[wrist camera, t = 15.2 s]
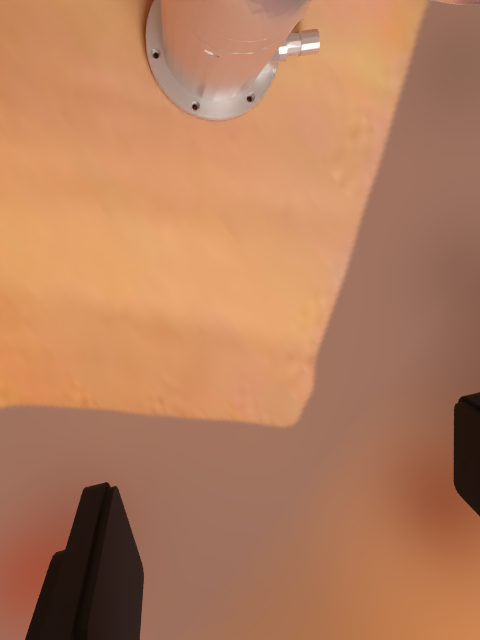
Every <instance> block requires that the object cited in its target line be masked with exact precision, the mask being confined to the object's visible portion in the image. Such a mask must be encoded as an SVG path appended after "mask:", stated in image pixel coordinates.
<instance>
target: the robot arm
mask: <svg viewBox="0 0 480 640" xmlns="http://www.w3.org/2000/svg"><path fill="white" fill-rule="evenodd" d="M428 1H430V0H428ZM432 1H438V2H444V3H451V4H462V5H475V4H480V0H432ZM310 2H311V0H154V1H153V3H152V5H151V7H150V11H149V14H148V18H147V23H146V34H145V39H146V51H147V56H148V61H149V64H150V67H151V70H152V73H153V76H154V78H155V80H156V81H157V83H158V85H159V87H160V89H161V90H162V91H163V93H164V94H165V95H166V96H167V98H168V99H169V100H170V101H171V102H172V103H173V104H175V105H176V106H177V107H178V108H179V109H181V110H183V111H184V112H186V113H187V114H189V115H191V116H194V117H197V118H199V119H203V120H209V121H225V120H229V119H232V118H236V117H238V116H240V115H242V114H244V113H246V112H247V111H249V110H250V109H251V108H252V107H254V106H255V105H256V104H257V103H258V102H259V101H260V100H261V99H262V98H263V96H264V95H265V93H266V92H267V90H268V89H269V87H270V85H271V83H272V81H273V79H274V76H275V73H276V69H277V65H278V62H284V61H285V60H286V56H293V55H298V56H303V55H310V54H316V53H317V52H318V50H319V45H320V36H319V32H318V30H317V29H312V30H305V31H298V32H297V33H292V34H290V32H291V31H292V30H293V28H294V27H295V25H296V24H297V22H298V21H300V20H302V18H303V14H304V13H305V11H306V9H307V7H308V6H309V4H310ZM155 53H156V54H158V55H159V57H158V58H157V59H156V58H154V57H153V55H154V54H155ZM247 97H250V98H251V102H248V101H247ZM193 105H196V106H197V110H194V109H193V108H192V106H193ZM454 485H455V488H456V490H457V492H458V493H459V495H460V496H461V497H462V498H463V499H464V500H465V501H466V502H467V503H468V504H469V505H470V506H471V508H472V509H473V510H474V511H475V512H476V513H477V514H478V515H479V516H480V393H475V394H471V395H467V396H463V397H461V398H460V399H459V401H458V403H457V404H456V405H455V407H454ZM143 582H144V573H143V566H142V562H141V559H140V556H139V552H138V549H137V546H136V543H135V540H134V537H133V534H132V530H131V527H130V524H129V521H128V518H127V515H126V512H125V509H124V505H123V502H122V499H121V496H120V493H119V490H118V488H117V487H116V486H114V487H110V485H109V483H107V482H106V483H102V484H98V485H93V486H90V487H85V488H84V490H83V492H82V495H81V499H80V502H79V505H78V509H77V512H76V516H75V519H74V522H73V526H72V529H71V533H70V536H69V539H68V542H67V546H66V549H65V550H63V551H59V552H56V553H55V554H54V555H53V557H52V560H51V562H50V565H49V568H48V571H47V574H46V577H45V580H44V583H43V586H42V589H41V592H40V595H39V598H38V602H37V605H36V608H35V611H34V614H33V617H32V620H31V623H30V626H29V629H28V632H27V635H26V639H25V640H140V626H141V612H142V598H143V584H144V583H143Z"/></svg>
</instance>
